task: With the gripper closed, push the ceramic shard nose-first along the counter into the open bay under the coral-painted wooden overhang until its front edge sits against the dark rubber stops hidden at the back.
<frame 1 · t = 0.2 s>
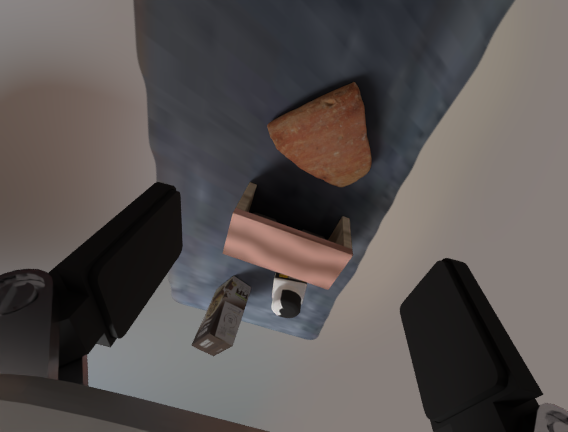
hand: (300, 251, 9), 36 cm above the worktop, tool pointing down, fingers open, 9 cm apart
overhang bay: (292, 219, 53), on the worktop
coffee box: (233, 287, 70), on the worktop
medicine bottle: (292, 267, 62), on the worktop
ceramic shard: (325, 143, 43), on the worktop
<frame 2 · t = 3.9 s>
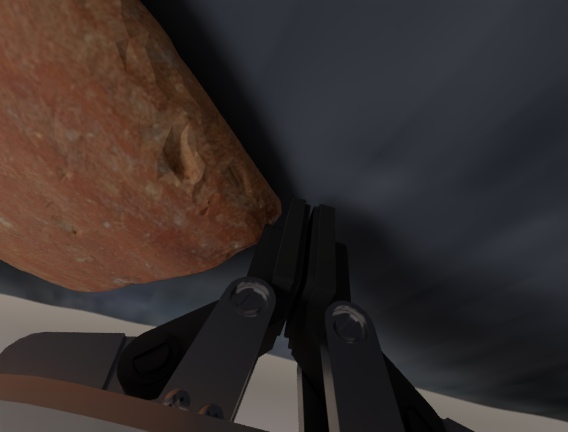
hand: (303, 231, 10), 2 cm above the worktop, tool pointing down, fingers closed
ceramic shard: (77, 130, 12), on the worktop
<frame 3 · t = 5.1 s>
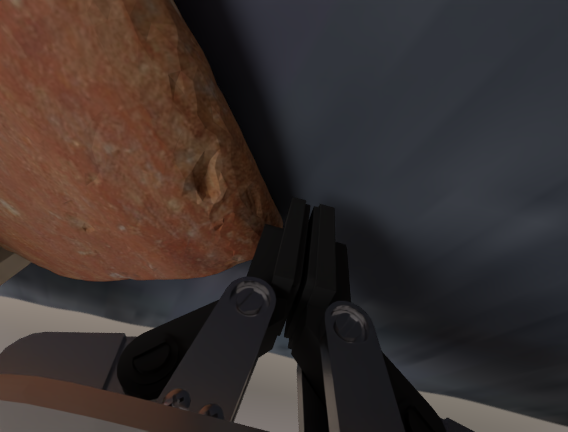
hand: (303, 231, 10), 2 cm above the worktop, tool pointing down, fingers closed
ceramic shard: (89, 120, 12), on the worktop
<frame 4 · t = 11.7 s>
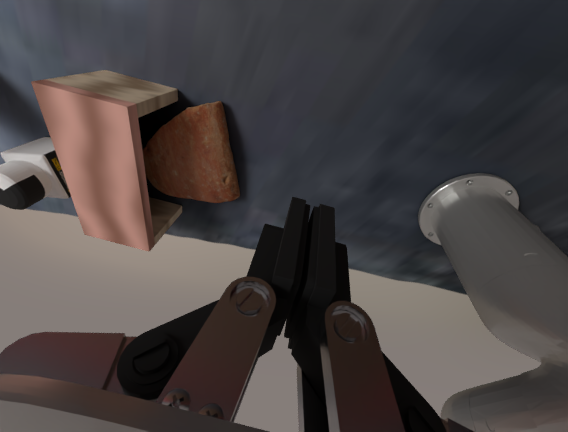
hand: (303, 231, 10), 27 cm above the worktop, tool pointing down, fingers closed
overhang bay: (149, 152, 40), on the worktop
medicine bottle: (74, 157, 43), on the worktop
ceramic shard: (191, 150, 40), on the worktop
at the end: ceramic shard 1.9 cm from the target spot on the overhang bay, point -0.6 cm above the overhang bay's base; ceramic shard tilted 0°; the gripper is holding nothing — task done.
